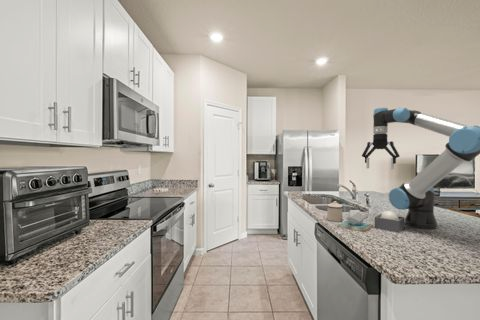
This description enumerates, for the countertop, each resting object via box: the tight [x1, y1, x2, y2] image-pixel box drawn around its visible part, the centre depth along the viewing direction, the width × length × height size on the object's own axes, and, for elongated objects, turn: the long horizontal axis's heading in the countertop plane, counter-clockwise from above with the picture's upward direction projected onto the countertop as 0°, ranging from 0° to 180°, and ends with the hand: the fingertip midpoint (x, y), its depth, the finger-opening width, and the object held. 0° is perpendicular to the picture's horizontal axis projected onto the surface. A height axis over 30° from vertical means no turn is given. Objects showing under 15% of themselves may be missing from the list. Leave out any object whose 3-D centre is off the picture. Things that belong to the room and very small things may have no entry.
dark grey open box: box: [374, 213, 406, 234], centre depth 139 cm, size 12×12×6 cm
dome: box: [380, 210, 400, 221], centre depth 139 cm, size 9×9×9 cm
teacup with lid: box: [326, 200, 344, 223], centre depth 157 cm, size 12×9×12 cm
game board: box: [337, 219, 374, 233], centre depth 141 cm, size 14×14×1 cm
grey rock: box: [346, 209, 366, 225], centre depth 141 cm, size 8×9×10 cm
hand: (379, 168), depth 154 cm, fingers open, 13 cm apart
